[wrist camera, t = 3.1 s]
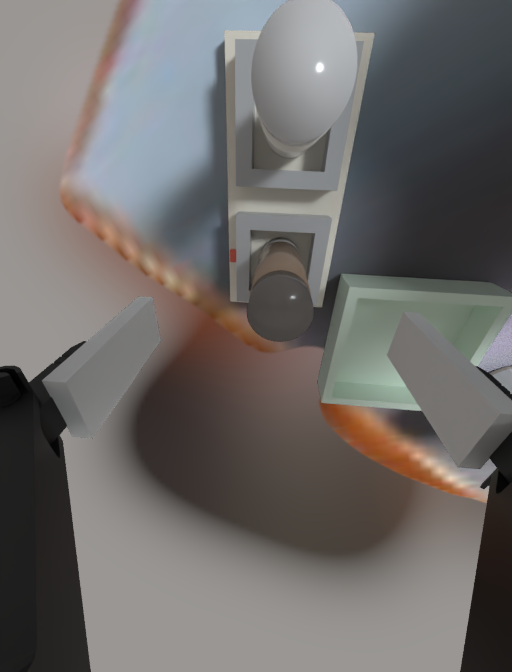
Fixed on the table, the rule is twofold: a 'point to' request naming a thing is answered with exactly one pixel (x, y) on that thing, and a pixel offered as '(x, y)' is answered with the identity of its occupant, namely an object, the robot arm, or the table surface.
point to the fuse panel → (283, 176)
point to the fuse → (302, 73)
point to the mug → (504, 377)
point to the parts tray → (381, 324)
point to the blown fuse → (280, 293)
